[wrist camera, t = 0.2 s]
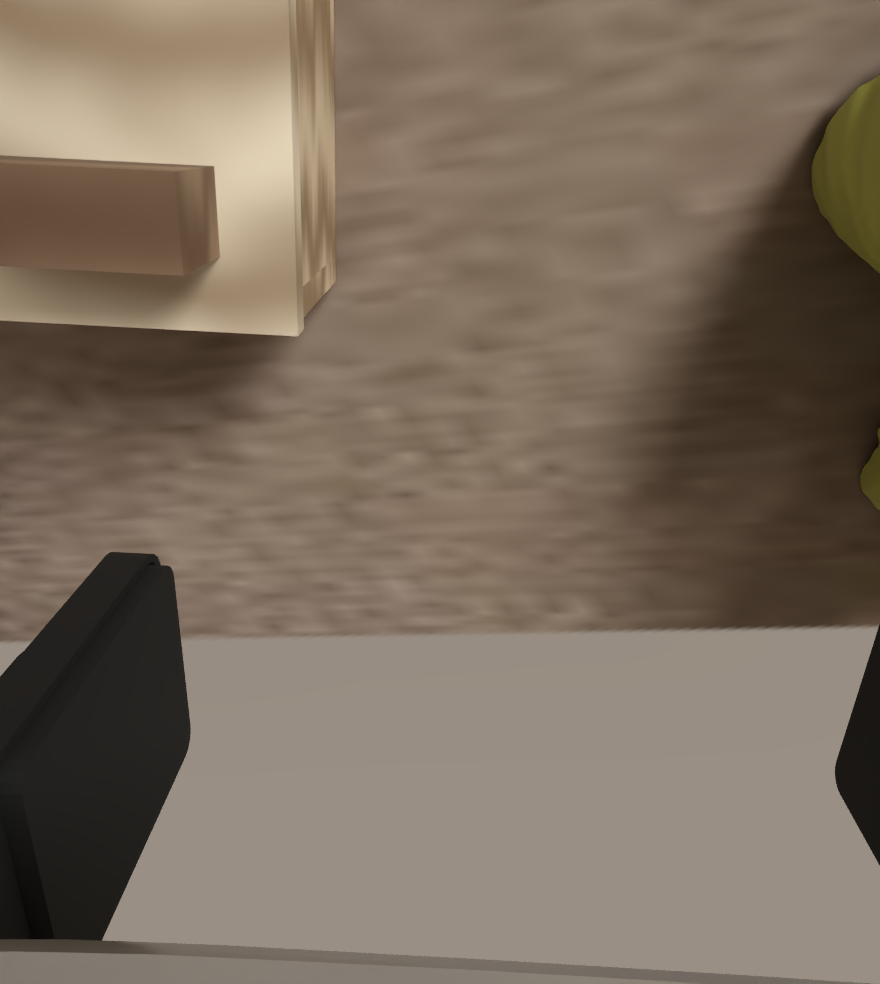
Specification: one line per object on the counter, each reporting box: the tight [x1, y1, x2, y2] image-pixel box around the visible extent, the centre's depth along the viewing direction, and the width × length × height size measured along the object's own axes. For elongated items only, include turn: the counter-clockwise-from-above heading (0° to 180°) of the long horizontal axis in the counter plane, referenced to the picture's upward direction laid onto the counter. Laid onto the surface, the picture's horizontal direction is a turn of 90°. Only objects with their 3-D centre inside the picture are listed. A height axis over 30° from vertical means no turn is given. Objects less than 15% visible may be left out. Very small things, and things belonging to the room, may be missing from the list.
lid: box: [0, 0, 304, 336], centre depth 24 cm, size 20×13×5 cm, turn 177°
